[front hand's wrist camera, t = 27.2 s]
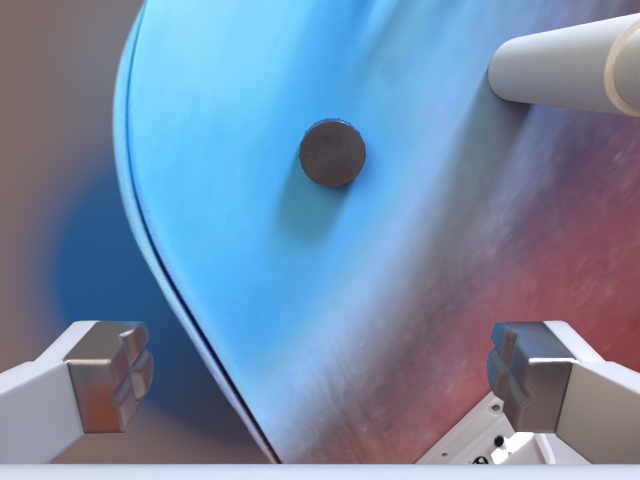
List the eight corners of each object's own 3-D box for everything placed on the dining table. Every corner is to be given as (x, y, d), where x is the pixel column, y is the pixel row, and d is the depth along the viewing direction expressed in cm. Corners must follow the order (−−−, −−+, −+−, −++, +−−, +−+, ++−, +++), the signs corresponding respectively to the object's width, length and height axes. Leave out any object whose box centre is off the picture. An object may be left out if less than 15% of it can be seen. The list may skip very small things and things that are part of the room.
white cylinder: (553, 85, 34) (750, 91, 19) (497, 110, 35) (640, 138, 19) (538, 26, 33) (738, -21, 17) (479, 54, 34) (619, 34, 18)
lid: (294, 124, 35) (292, 126, 34) (358, 111, 35) (360, 113, 33) (306, 186, 37) (305, 192, 35) (368, 175, 37) (370, 180, 35)
